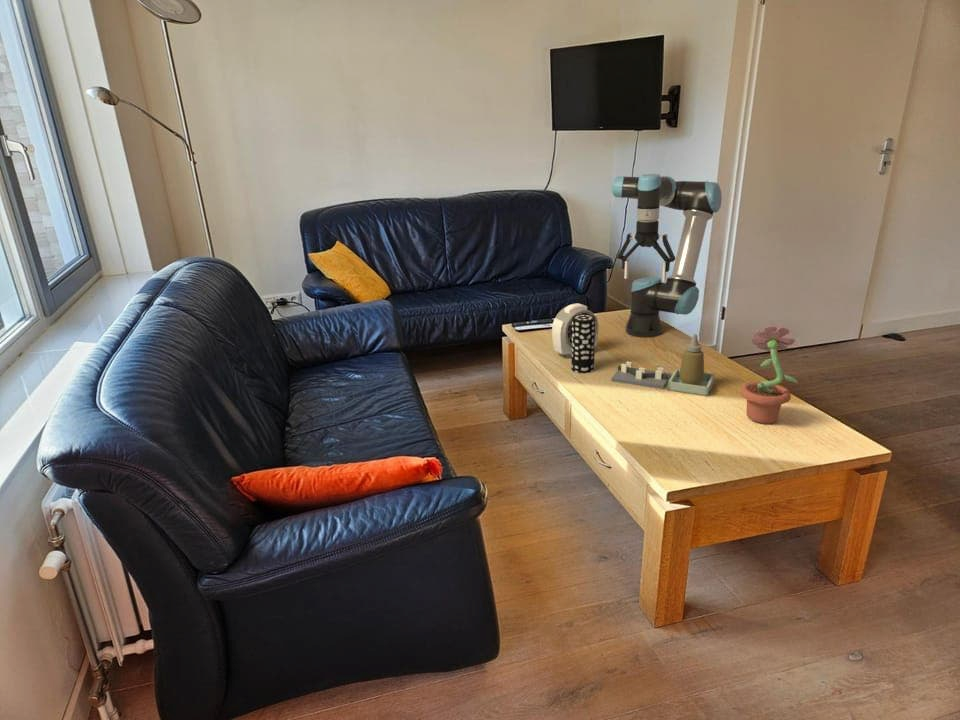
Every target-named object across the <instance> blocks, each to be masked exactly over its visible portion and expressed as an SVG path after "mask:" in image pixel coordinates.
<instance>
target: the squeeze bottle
mask: <svg viewBox="0 0 960 720" xmlns="http://www.w3.org/2000/svg"><path fill="white" fill-rule="evenodd" d="M704 356H705V355H704V351H702V345H701V344H700V343H699V340H698V335H697V334H693V335H692V338H691V341H690V343H687V344H686V349H685V350H683V354H682V358H681V362H680V363H681V364H680V368H679V369H680V373H679V375H680V379H681V383H684V384H691V385H698V386H700V384H701V382H702V380H703V378H704V372H705V361H704V359H705V357H704Z"/></svg>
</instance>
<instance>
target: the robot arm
mask: <svg viewBox="0 0 960 720" xmlns="http://www.w3.org/2000/svg"><path fill="white" fill-rule="evenodd" d="M721 189H722V188H721V187H720V185H719V183H717V182H715V181H713V182H712V181H707V180H706V181H690V180H689V181H687V180H681V181H680V180H679V181H675V180H674V178H672V177H671V176H668V175H667V176H665V175H664V176H661V175H660V174H658V173H657V174H656V173H646V174H641V175H639V176H616V177H615V178H614V179H613V181H612V185H611V192H612V195H613V196H614V197H615V198H621V199H625V198H627V199H635V200H637V207H636V208H637V209H636V220H637V221H636V228H635V229H636V230H635V233H634V234H633V233H632V232H629V233H628V234H627V235H626V239H625V242H624V244H623V246H621V249H620V251H619V253H618V254H617V256H616V258H617V259H618V260H621V269H622V270H624V275H623V276H624V279H625V280H627V279H628V278H629V264H630V263H629V261H630V259H628V258H629V257H630V256H631V255H632V254H633V253H634V252H635V250H636V249H637V248H638V247H639V246H640V247H641V248H643V247H644V248H645V247H646V248H651V247H652V248H653V249H654V250H655V251H656V252H657V254H658V255H659V256H660V257H661V259H662V260H663V261H664V262H663V263H662V276H661V277H662V279H661V278H660V277H657V276H649V277H648V276H646V277H641V278H638V279H635V280H633V282H632V284H631V292H630V293H631V297H630V314H629V317H628V320H627V322H626V324H625V332H626V333H627V334H628V335H630V336H632V337H638V338H639V337H641V338H652V337H653V338H654V337H656V336H660V335H661V334H662V333H663V325H662V322H661V317H660V312H664V313H665V312H666V313H670V314H676V315H684V316H685V315H689V314H690V313H692V312H693V311H694V309H695V308H696V306H697V303H698V302H699V298H700V289H699V288H698V287H697V282H696V281H695V279H694V278H695V274H696V270H697V265H698V261H699V257H700V253H701V249H702V245H703V242H704V237H705V232H706V229H707V225H708V222H709V220H711V219H712V218H713V216H714V213H718V212H719V211H720V209H721V206H722V201H723V199H722V190H721ZM660 206H661V207H663V208H664V207H665V208H668V209H672V210H677V211H683V212H682V214H683V216H684V217H685V219H684V223H683V228H682V231H681V235H680V239H679V245H678V248H677V252H676V255H675V254H674V251H673V249H672V247H671V245H670V243H669V239H668V234H667V233H665V234H659V219H660ZM633 239H635V241H636V243H635V244H634V245H633V246H632V247H631V248H630V249H629V251H627V249H628V247H629V245H630V243H631V241H633ZM658 240H660V241H661V242H662V245H663V246H664V249H665V250H666V252H665V251H664V250H663V249H662V247H661V246H660V243H658ZM626 251H627V252H626ZM625 252H626V254H625ZM666 253H667V254H668V255H667V254H666ZM624 254H625V255H624ZM672 262H674V265H673V270H672V271H671V272H672V273H671V275H669V276H668V277H667V273H669V272H670V265H671V264H670V263H672ZM665 281H666V282H665Z"/></svg>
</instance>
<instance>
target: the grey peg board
mask: <svg viewBox="0 0 960 720" xmlns="http://www.w3.org/2000/svg"><path fill="white" fill-rule="evenodd" d="M664 371H665V368H664V367H657V370H650V369H646V368H645V367H639V368H638V367H637V368H636V367H633V362H631V361H628V360H627V361H626V362H625V363H621V365H620V364H619V365H618V366H617V371H616V372H615V373H614V374H613V376H612V377H611V380H610V381H611V382H616V383H620V384H621V383H622V384H629V385H633V386H634V385H635V386H641V387H648V388H655V389H660V390H663V389H664V388H666V386H667V385H668V381H669V379H670V378H671V376H672V373H671V372H664Z"/></svg>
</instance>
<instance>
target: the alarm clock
mask: <svg viewBox="0 0 960 720" xmlns="http://www.w3.org/2000/svg"><path fill="white" fill-rule="evenodd" d="M579 314H588V315H593V316H595V348H596V347H597V344H598V338H599V328H600V327H599V326H600V324H599V318H598V315H597V314H595V313H593V312H592V311H591V310H588V306H587V305H584V304H581V303H578V302H577V303H572V304H569V305H567V306H565V307H563V308H562V309H561V310H559V312H558V313H557V314H556V316H555V318H554V320H553V322H552V325H551V326H552V327H551V337H552V338H551V339H552V346H553V351H555V352H557V353H558V354H560V356H562V357H563V358H566V359H571V358H572V317H573V316H574V315H579Z"/></svg>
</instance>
